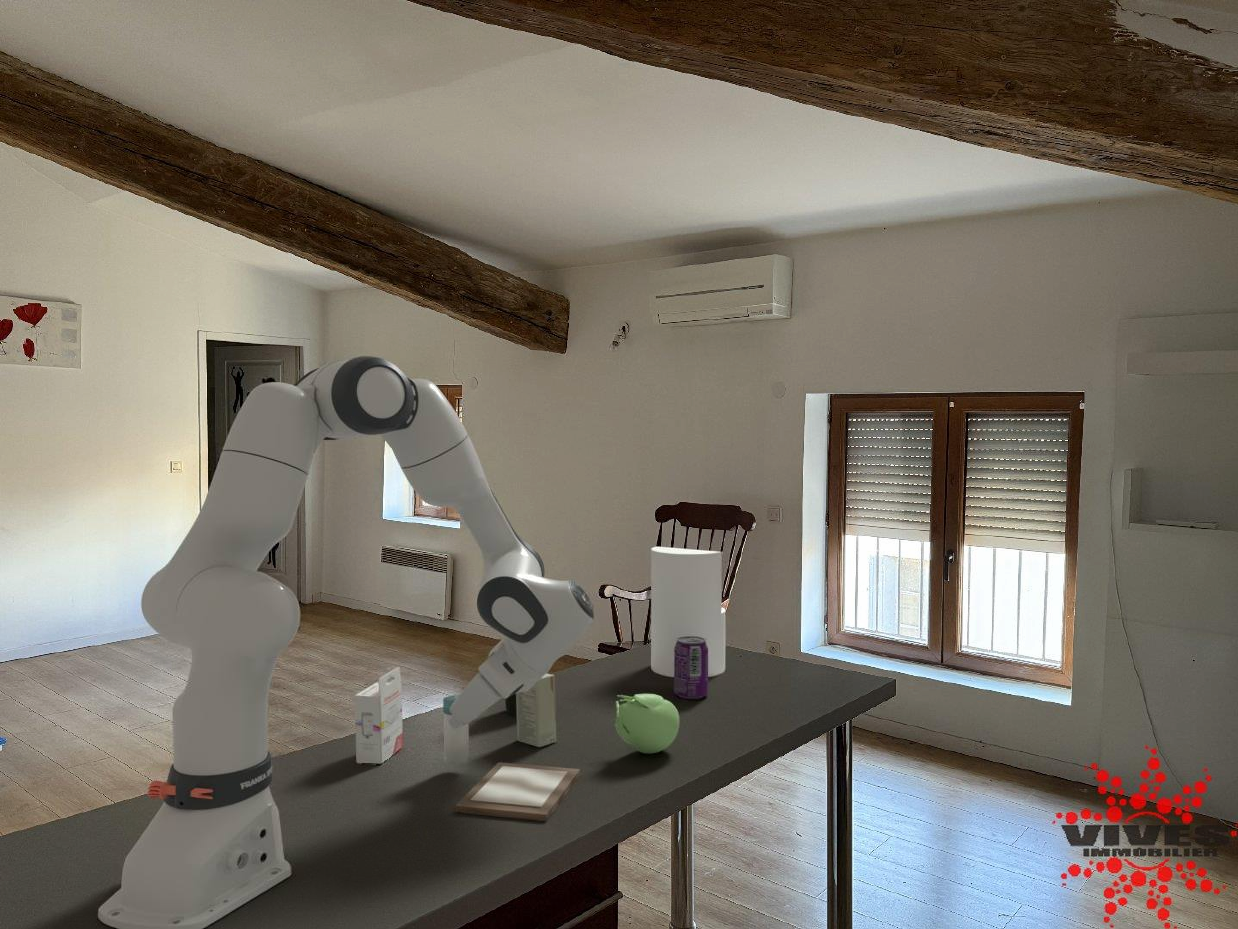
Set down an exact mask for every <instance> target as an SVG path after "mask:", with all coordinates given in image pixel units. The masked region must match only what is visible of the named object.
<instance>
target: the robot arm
mask: <svg viewBox="0 0 1238 929" xmlns="http://www.w3.org/2000/svg"><path fill="white" fill-rule="evenodd" d="M227 434H228V435H227V437H226V439H225V442H224V445H223V448H222V451H221V453H220V457H219V460H218V462H217V465H216V468H215V471H214V473H213V477H212V481H211V482H210V485H209V488H208V492H207V493H206V496H205V499H204V502H203V505H202V506H201V509H200V512H199V513H198V515H197V517H196V519H195V521H194V523H193V524H192V526H191V527H190V529H189V531H188V532H187V534H186V536H185V537H184V539H183V540H182V542H181V543H180V545H179V547H178V548H177V550H176V551H175V553H174V554H173V555H172V557H171V559H169V561H168V562H167V563H166V565H165V566H164V567H162V568H161V569H160V570H158V571H157V572H156V573H155V574H153V575H152V576H151V577H150V579H149V580H148V581H147V583H146V584H145V587H144V588H143V591H142V595H141V600H140V604H141V605H140V606H141V613H142V615H143V617H144V620H145V621H146V622H147V624H148V625H149V627H150V628H151V629H153V630H154V631H155V632H156V633H157V634H159V636H161V637H162V638H164V639H165V640H167V641H168V642H170V643H173V644H174V645H179V646H182V647H185V648H189V649H190V651H191V665H190V670H189V674H188V679H187V681H186V685H185V688H184V690H183V691H182V693H180V694H179V695H178V696H177V697H176V699H175V701H174V702H173V706H172V714H171V715H172V748H173V749H172V752H173V753H172V755H173V757H172V758H173V759H172V760H173V763H172V764H171V765H170V768H169V772H168V775H167V777H166V781H160V780H153V781H151V783H149V785H148V786H149V787H148V788H147V796H148V797H149V798H150V799H161V800H163V804H162V805H161V807H160V808H159V810H158V811H157V812H156V814H155V815H154V817H153V818H152V820H150V823H149V824H148V825H147V827H146V829H145V830H144V831H143V832H142V834H141V836H140V837H139V839H138V840H137V842H136V843H135V845H134V846H133V847H132V849H131V850H130V851H129V853H128V854H127V855H126V857H125V860H124V863H123V867H122V875H121V886H120V888H119V890H117V891H116V892H114V894H113V895H112V896H110V897H109V898H108V899H107V900H106V901H105V902H104V903H103V904H101V905H100V906H99V908H98V910H97V918H98V919H99V921H100V922H102V923H103V924H105V925H107V926H109V927H112V928H116V929H204V928H207V927H208V926H210V925H211V924H213V923H215V922H217V921H218V920H220V919H222V918H223V917H225V916H226V915H228V914H230V913H231V912H233V911H235V910H236V909H237V908H240V907H241V906H242V905H244V904H246V903H247V902H249V901H251V900H252V899H254V898H256V897H258V896H259V895H261V894H262V893H264V892H266V891H268V890H269V889H271V888H272V887H274V886H276V885H277V884H279V883H281V882H282V881H284V880H285V879H286V880H287V878H289V877H290V876H291V875H292V866H291V864H290V863H289V862H288V860H286V859H285V856H284V855H285V854H284V847H283V846H284V845H283V838H282V837H283V836H282V829H281V821H280V812H279V807H278V806H277V804H276V802H275V800H274V797H273V795H272V792H271V788H270V785H271V783H272V781H273V768H274V767H273V763H272V754H271V752H270V751H269V750H268V748H269V746H268V744H269V743H268V712H269V711H268V701H269V692H270V686H271V682H272V678H273V675H274V670H275V669H276V664H277V662H278V660H279V657H280V655H281V654H282V653H283V651H284V650H286V649H287V648H288V647H289V646H290V644H291V643H292V642H293V640H294V639H295V637H296V635H297V632H298V629H299V626H300V622H301V608H300V603H299V601H298V598H297V596H296V594H295V593H294V592H293V590H291V588H290V587H289V586H287V585H285V584H284V583H282V582H281V581H279V580H278V579H275V577H272V576H270V575H269V574H266V573H264V572H262V571H258V569H259V568H260V566H261V564H262V562H263V561H264V559H265V558H266V556H268V553H269V552H270V551H271V550H272V549H273V547H274V546H276V544H278V543H279V542H280V541H282V540H283V539H284V538H286V536H287V535H288V534H289V533H290V532H291V530H292V527H293V524H294V521H295V518H296V515H297V513H298V512H297V511H298V508H299V506H300V502H301V498H302V497H303V492H304V490H305V485H306V482H307V479H308V477H309V474H310V473H309V472H310V469H311V466H312V463H313V458H314V454H315V453H316V451H317V449H318V447H319V446H320V444H321V442H323V441H336V440H357V439H362V438H367V437H369V436H375V435H378V436H379V437H380V438H381V439H383V441H385V442H386V444H387V445H388V447H390V448H391V450H392V452H393V454H394V456H395V459H396V460H397V464H398V465H399V466H400V469H401V472H403V475H404V476H405V478H406V480H407V482H408V483H409V485H410V486H411V487H412V489H413V490H414V491H415V493H416V494H417V495H418V496H419V498H420V499H421V500H422V501H423V502H424V503H426V504H428V505H430V506H433V507H436V508H450V509H453V510H454V511H456V513H457V514H458V515H459V516H460V517H461V519H462V521H463V522H464V524H465V526H466V527H467V529H468V531H469V533H470V534H471V536H472V538H473V539H474V542H475V543H476V544H477V546H478V548H479V550H480V553H481V556H482V560H483V573H482V578H481V581H480V585H479V589H478V592H477V597H476V607H477V611H478V614H479V617H480V618H481V619H482V620H483V622H484V623H485V624H486V625H488V626H489V627H491V628H492V629H493V630H495V631H497V632H499V633H500V634H502V635H504V637H503V638H502V639H501V640H500V641H499V642H498V643H497V644H496V645H495V646H493V647H492V649H491V650H490V652H489V653H488V655H487V658H486V659H485V660H484V661H483V662H482V663H481V664H480V665H479V666H478V671H479V672H478V673H477V674H476V675H475V676H474V677H473V678H472V679H471V680H470V682H469V683H468V684H467V685H466V687H465V688H464V689H462V691H461V693H460V694H458V695H459V696H458V697H457V698H456V700H455V701H454V702H453V704H452V705H451V707H450V712H451V713H452V715H453V717H452V718H451V719H450V720H449V724H450V725H451V726H452V728H454V729H457V728H458V727H459V726H460V725H461V724H462V725H466V724H468V723H469V724H470V723H471V722H472V721H474V720H475V719H476V718H478V717H479V716H481V714H483V713H484V712H486V711H487V710H488V709H490V708H491V707H492V706H493V705H495V704H496V703H497V702H499V701H501V700H502V699H504V700H505V699H506V698H508V697H510V696H512V695H513V694H516V693H520V692H527V691H528V690H529V689H530V688H532V687H533V686H534V685H535V684H536V683H537V682H538V681H539V680H540V679H541V678H542V677H543V676H544V675H545V674H546V673H548V672H549V671H550V670H551V668H552V667H553V665H554V663H555V662H556V661H557V660H559V659H560V658H561V657H563V656H566V654H568V653H569V652H570V651H571V650H572V649H573V648H574V647H575V646H576V645H577V644H578V643H579V641H580V640H581V639H582V638H583V637H584V636H585V634H586V633H587V632H588V631H589V629H590V628H591V626H592V625H593V623H594V620H595V611H594V608H593V607H594V606H593V603H592V601H591V599H590V597H589V596H588V595H587V593H586V591H585V590H584V589H583V588H582V587H581V586H580V585H579V584H578V583H577V582H575V581H574V580H572V579H571V580H570V579H569V580H557V579H552V578H548V577H547V578H546V577H545V573H546V572H545V565H544V562H543V559H542V557H541V556H540V554H539V553H538V551H536V549H534V548H533V547H532V546H531V545H530V544H528V543H527V542H526V541H525V540H524V539H523V538H522V537H520V535H518V533H517V532H516V531H515V529H514V527H513V526H512V524H511V523H510V520H509V519H508V517H507V515H506V513H505V512H504V510H503V508H502V506H501V505H500V503H499V501H498V500H497V498H496V496H495V494H494V492H493V490H492V489H491V488H490V485H489V482H488V480H487V477H486V474H485V472H484V469H483V466H482V463H481V460H480V458H479V456H478V453H477V451H476V449H475V446H474V443H473V441H472V440H471V438H470V436H469V434H468V432H467V429H466V428H465V426H464V424H463V422H462V420H461V419H460V417H459V416H458V414H457V412H456V411H455V409H454V408H453V405H451V403H450V402H449V400H448V399H447V398H446V396H445V395H444V394H443V392H442V391H441V390H440V389H439V387H438V386H437V385H436V384H435V383H433V382H432V381H430V380H428V379H425V378H409V377H408V376H406V375H405V373H404V372H403V371H402V370H401V369H400V368H399V367H397V366H396V365H395V364H394V363H392V362H390V361H389V360H386V359H384V358H382V357H377V356H373V355H371V356H370V355H364V356H363V355H362V356H357V357H353V358H349V359H339V360H336V361H332V362H329V363H326V365H322V366H321V367H317V368H315V369H313V370H310V371H309V372H307V373H306V374H304V375H303V376H302V377H301V378H299V380H298V381H296V382H295V383H294V384H290V383H286V382H282V381H281V382H278V381H272V382H271V381H270V382H265V383H262V384H259V385H257V386H256V387H254V388H253V389H252V390H251V391H250V392H249V394H248V395H247V397H246V399H245V400H244V401H243V404H242V406H240V409H239V411H238V413H237V415H236V416H235V419H234V420H233V422H232V425H231V427H230V430H229V432H228V433H227Z"/></svg>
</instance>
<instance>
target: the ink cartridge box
mask: <svg viewBox="0 0 1238 929" xmlns="http://www.w3.org/2000/svg"><path fill="white" fill-rule="evenodd" d="M389 678H392V681H390V682H387V681H388V680H390V679H389ZM353 697H354V718H355V719H354V721H355V722H354V723H355V750H356V751H355V758H356V760H355V762H357V763H356V764H362V763H379V764H380V763H383V762H384V761H385V760H387V759H388V760H390V759H391V758H392V757H393V756H394V755H396V754H397V753H398V752H399V751H400V750H399V749H400V748H402V749H403V747H404V746H403V743H404V742H403V741H404V740H403V738H404V737H403V734H404V733H403V684H402V676H401V668H400V666H397V667H396V668H394V669H391V670H390V671H389V672H387V673H385V674H384V675H382V676H380V677H379V678H378V680H377V681H376V682H374V683H373V684H371V685H370V686H369V687H366V688H365V689H363V690H362V691H360V692H358V693H356V694H354V695H353ZM398 750H399V751H398ZM397 751H398V752H397ZM396 752H397V753H396ZM395 753H396V754H395ZM393 754H394V755H393ZM392 755H393V756H392ZM391 756H392V757H391ZM390 757H391V758H390ZM389 758H390V759H389ZM388 760H387V761H388ZM383 764H384V763H383Z"/></svg>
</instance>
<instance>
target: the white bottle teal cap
mask: <svg viewBox="0 0 1238 929" xmlns="http://www.w3.org/2000/svg"><path fill="white" fill-rule="evenodd" d="M459 695H460V694H455V695H448V696H446V697H444V698H443V699H442V706H443V707H442V712H443V762H445V763H447V764H453V765H456V764H464V763H466V762H468V761H469V759H470V758H469V757H470V754H469V753H470V749H469V748H470V745H469V744H470V742H469V740H470V739H469V738H470V737H469V736H470V734H469V733H470V731H469V730H470V728H469V727H470V726H469V725H470V722H469V723H468V724H466V725H462V724H461V725H460V726H459V727H458V728H457V729H454V728H452V726H451V725H450V724H449V720H450V719H451V718H452V717H453V715H452V713H451V712H450V707H451V705H452V704H453V702H454V701H455V700H456V698H457V697H458V696H459Z"/></svg>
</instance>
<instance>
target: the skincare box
mask: <svg viewBox="0 0 1238 929" xmlns="http://www.w3.org/2000/svg"><path fill="white" fill-rule="evenodd" d="M516 706H517V716H516V735H517V737H516V738H517V740H516V741H519V742H521V743H524V744H528V745H531V746H534V747H538V748H541V747H544V746H548V745H550V744H554V743H555V742H557V718H556V717H557V715H556V712H557V711H556V678H555V674H551V673H548V672H547V673H546V674H545V675H544V676H543V677H542V678H541V679H540V680H539V681H538V682H537V683H536V684H535V685H534V686H533V687H532V688H530V689H529V690H528V691H527V692H520V693H516Z"/></svg>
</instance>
